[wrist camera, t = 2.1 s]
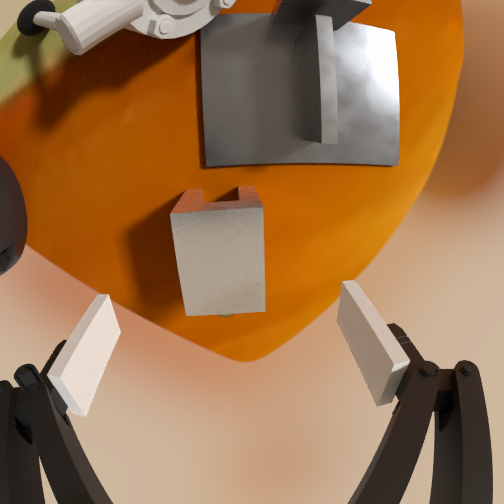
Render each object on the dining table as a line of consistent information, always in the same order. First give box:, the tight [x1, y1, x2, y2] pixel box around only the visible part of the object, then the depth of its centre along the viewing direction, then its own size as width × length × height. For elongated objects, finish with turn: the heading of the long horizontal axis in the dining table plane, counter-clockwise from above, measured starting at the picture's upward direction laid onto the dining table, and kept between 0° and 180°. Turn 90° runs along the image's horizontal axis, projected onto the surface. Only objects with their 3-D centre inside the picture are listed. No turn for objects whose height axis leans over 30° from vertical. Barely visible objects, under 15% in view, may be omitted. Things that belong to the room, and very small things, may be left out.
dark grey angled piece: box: [201, 0, 399, 167], centre depth 18 cm, size 18×14×8 cm
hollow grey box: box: [170, 185, 265, 317], centre depth 24 cm, size 6×8×8 cm
